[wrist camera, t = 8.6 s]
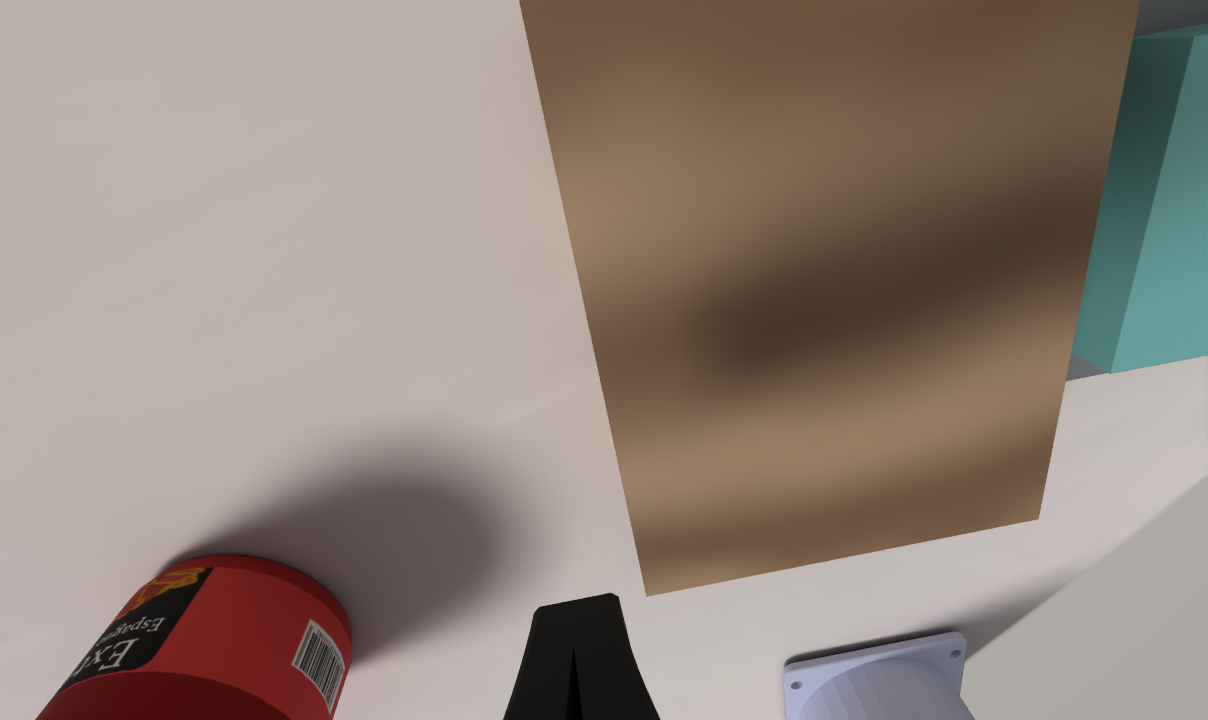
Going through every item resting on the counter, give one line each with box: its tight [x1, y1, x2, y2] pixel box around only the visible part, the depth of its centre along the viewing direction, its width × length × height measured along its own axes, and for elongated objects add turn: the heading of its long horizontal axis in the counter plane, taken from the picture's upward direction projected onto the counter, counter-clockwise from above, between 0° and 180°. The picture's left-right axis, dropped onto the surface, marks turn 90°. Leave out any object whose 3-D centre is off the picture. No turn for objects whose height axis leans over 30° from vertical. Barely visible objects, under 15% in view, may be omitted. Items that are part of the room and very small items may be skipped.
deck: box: [519, 0, 1140, 596], centre depth 16 cm, size 16×12×4 cm
